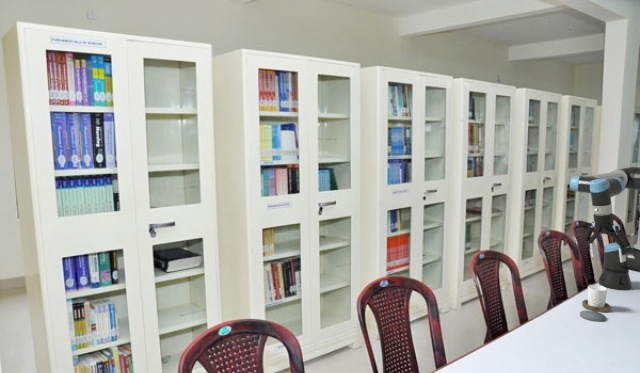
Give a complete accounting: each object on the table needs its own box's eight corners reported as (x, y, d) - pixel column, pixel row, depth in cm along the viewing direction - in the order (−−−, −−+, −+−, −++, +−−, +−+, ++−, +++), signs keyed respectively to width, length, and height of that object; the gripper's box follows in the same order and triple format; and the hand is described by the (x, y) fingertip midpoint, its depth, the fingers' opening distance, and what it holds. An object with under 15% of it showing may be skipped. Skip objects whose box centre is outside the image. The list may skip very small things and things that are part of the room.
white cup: (600, 304, 227) (602, 285, 226) (608, 311, 219) (610, 290, 218) (583, 304, 228) (584, 284, 226) (591, 310, 220) (592, 290, 219)
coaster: (584, 310, 220) (585, 308, 220) (608, 317, 212) (608, 315, 212) (576, 316, 213) (576, 314, 213) (600, 323, 206) (600, 321, 206)
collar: (587, 301, 231) (588, 297, 231) (612, 308, 223) (613, 304, 223) (578, 307, 224) (579, 303, 224) (604, 314, 216) (604, 310, 216)
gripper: (572, 213, 221) (577, 256, 223) (625, 218, 198) (630, 266, 200) (583, 209, 224) (588, 252, 226) (636, 213, 201) (641, 261, 203)
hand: (608, 258), depth 213 cm, fingers open, 13 cm apart
